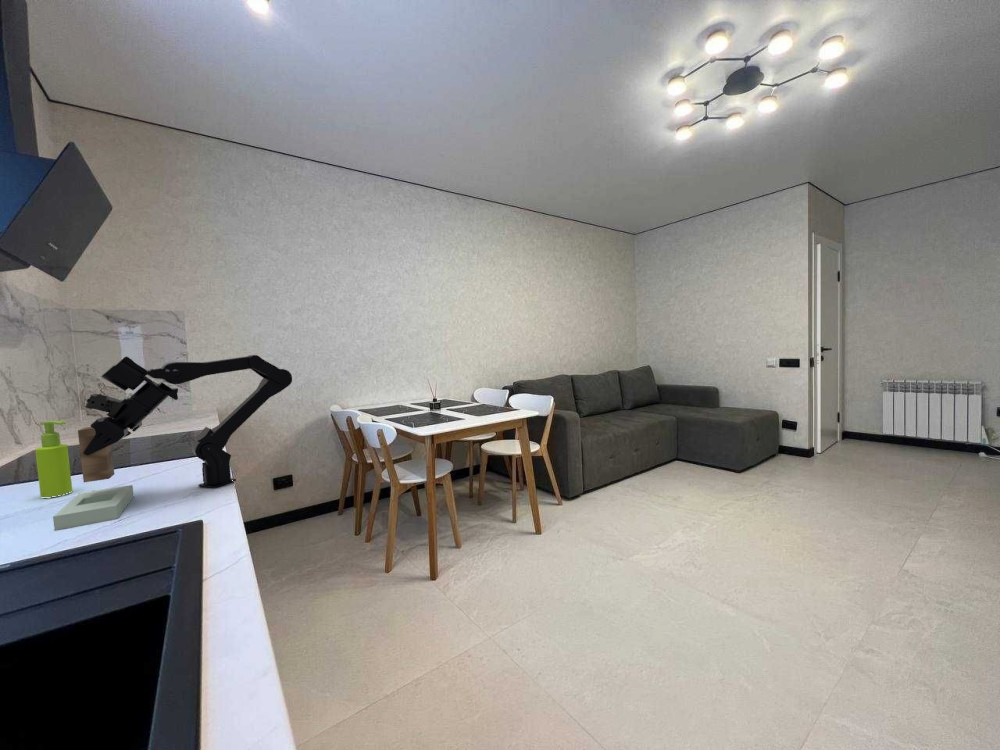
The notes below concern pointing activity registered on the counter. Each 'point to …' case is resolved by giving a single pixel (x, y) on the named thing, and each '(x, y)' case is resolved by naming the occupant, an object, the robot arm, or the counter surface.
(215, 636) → the counter surface
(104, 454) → the walnut post
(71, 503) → the sage rectangular frame
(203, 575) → the counter surface
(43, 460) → the soap dispenser
